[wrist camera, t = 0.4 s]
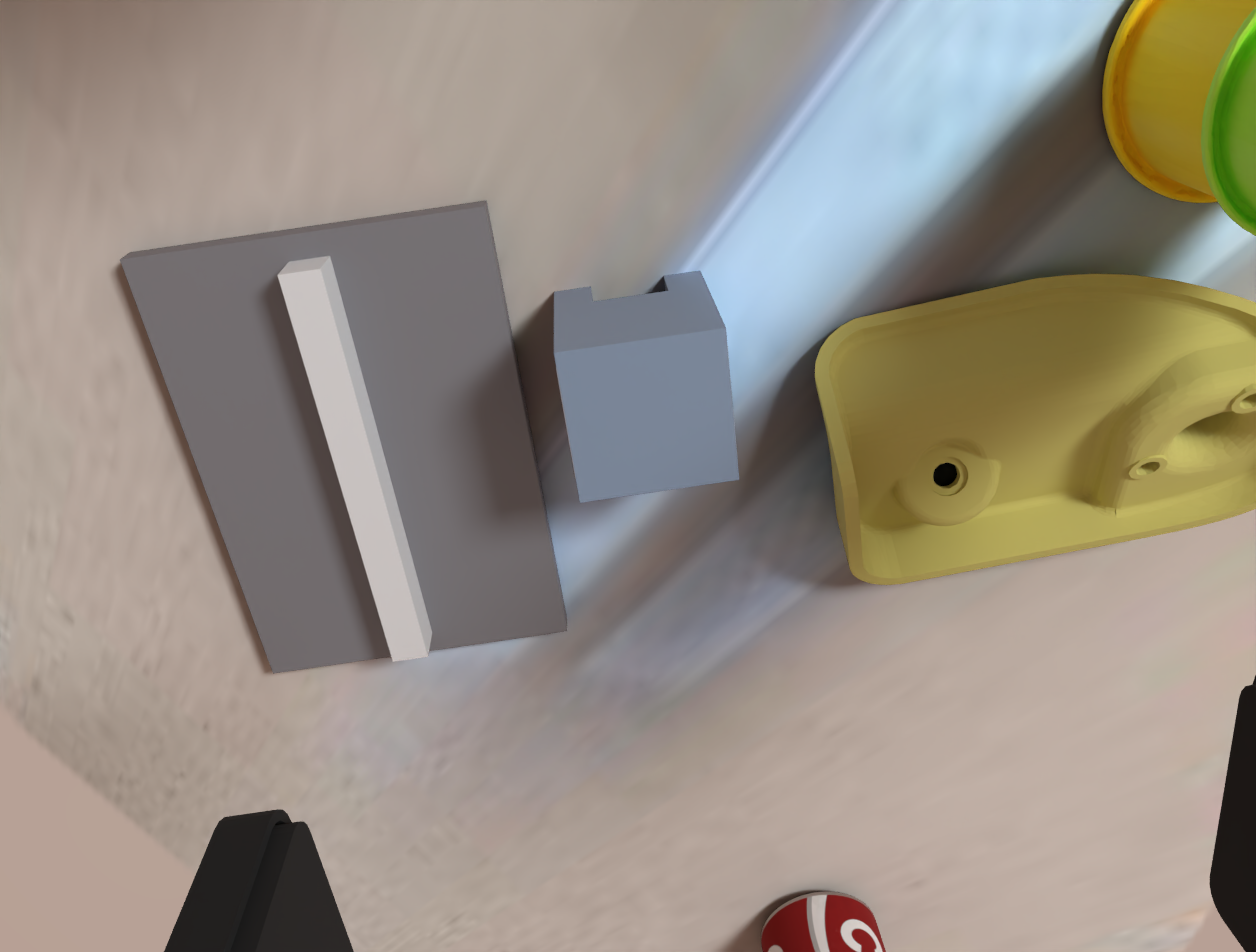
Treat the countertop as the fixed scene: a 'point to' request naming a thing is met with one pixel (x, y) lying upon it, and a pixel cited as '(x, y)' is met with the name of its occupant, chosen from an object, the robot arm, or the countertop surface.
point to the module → (645, 389)
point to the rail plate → (418, 418)
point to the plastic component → (1038, 421)
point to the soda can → (822, 925)
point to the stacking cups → (1187, 101)
